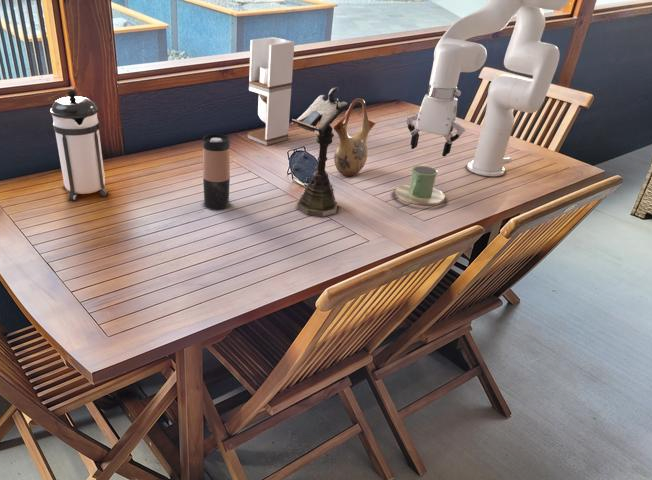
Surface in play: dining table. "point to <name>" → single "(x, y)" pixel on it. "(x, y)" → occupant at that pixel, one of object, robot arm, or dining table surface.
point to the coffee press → (79, 145)
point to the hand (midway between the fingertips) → (429, 151)
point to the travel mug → (216, 170)
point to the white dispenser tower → (271, 86)
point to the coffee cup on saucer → (421, 188)
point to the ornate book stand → (320, 154)
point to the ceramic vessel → (352, 143)
